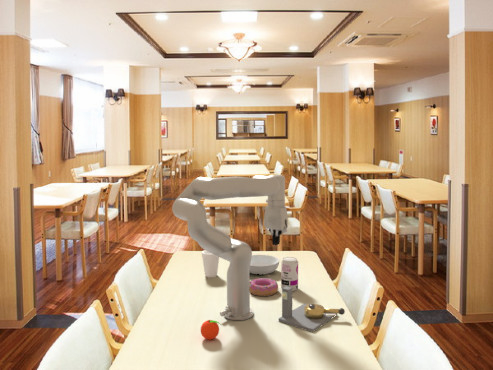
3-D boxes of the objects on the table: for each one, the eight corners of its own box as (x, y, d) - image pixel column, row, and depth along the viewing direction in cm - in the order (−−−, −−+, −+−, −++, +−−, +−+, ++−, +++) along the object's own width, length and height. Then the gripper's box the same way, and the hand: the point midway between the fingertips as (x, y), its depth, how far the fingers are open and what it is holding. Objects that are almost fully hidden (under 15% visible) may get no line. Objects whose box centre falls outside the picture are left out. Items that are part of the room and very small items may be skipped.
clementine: (222, 334, 170) (222, 316, 170) (221, 342, 164) (221, 324, 163) (201, 334, 170) (201, 316, 169) (200, 343, 163) (199, 324, 162)
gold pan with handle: (304, 318, 181) (304, 308, 180) (304, 310, 189) (304, 301, 188) (345, 320, 179) (345, 310, 179) (343, 312, 187) (343, 302, 186)
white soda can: (297, 286, 222) (298, 256, 220) (298, 292, 214) (298, 261, 212) (281, 285, 223) (281, 256, 221) (281, 291, 215) (281, 261, 213)
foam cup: (199, 274, 241) (199, 250, 240) (216, 271, 245) (215, 248, 244) (205, 279, 233) (205, 255, 231) (222, 277, 237) (222, 253, 235)
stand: (314, 332, 171) (315, 299, 170) (278, 321, 182) (278, 289, 180) (339, 315, 187) (340, 285, 185) (304, 306, 197) (304, 277, 196)
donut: (280, 288, 220) (280, 278, 219) (274, 298, 206) (274, 288, 206) (252, 285, 224) (252, 275, 223) (244, 295, 210) (244, 285, 210)
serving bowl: (235, 269, 250) (234, 257, 249) (268, 264, 258) (268, 252, 258) (251, 280, 231) (251, 267, 230) (286, 275, 240) (286, 262, 239)
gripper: (257, 202, 197) (257, 243, 199) (285, 206, 188) (285, 248, 190) (267, 200, 203) (267, 240, 205) (295, 203, 193) (294, 245, 196)
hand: (276, 244), depth 197 cm, fingers closed
